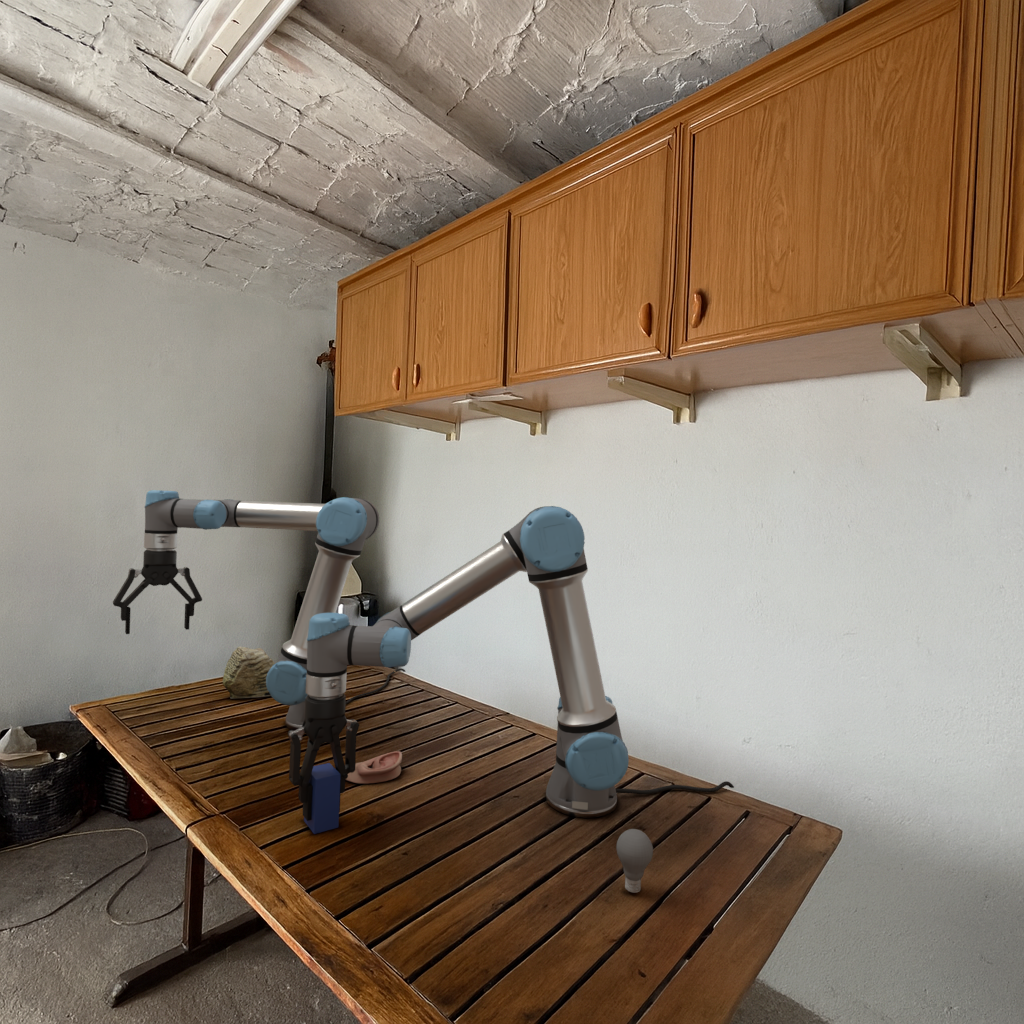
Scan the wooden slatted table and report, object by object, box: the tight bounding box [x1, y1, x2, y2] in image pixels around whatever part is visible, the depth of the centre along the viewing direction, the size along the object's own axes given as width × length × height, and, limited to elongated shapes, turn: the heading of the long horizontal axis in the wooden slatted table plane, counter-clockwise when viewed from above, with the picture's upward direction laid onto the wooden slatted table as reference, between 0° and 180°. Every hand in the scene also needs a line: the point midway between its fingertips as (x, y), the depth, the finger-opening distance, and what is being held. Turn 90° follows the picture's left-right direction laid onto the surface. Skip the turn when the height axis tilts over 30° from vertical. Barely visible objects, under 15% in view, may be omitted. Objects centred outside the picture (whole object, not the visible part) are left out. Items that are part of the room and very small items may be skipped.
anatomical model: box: [345, 750, 403, 784], centre depth 146 cm, size 13×4×12 cm
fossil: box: [222, 646, 276, 699], centre depth 198 cm, size 9×18×15 cm, turn 132°
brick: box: [303, 762, 341, 835], centre depth 123 cm, size 5×6×10 cm
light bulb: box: [615, 828, 654, 894], centre depth 106 cm, size 6×6×10 cm
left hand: (157, 630), depth 165 cm, fingers open, 13 cm apart
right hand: (321, 813), depth 123 cm, fingers open, 5 cm apart
